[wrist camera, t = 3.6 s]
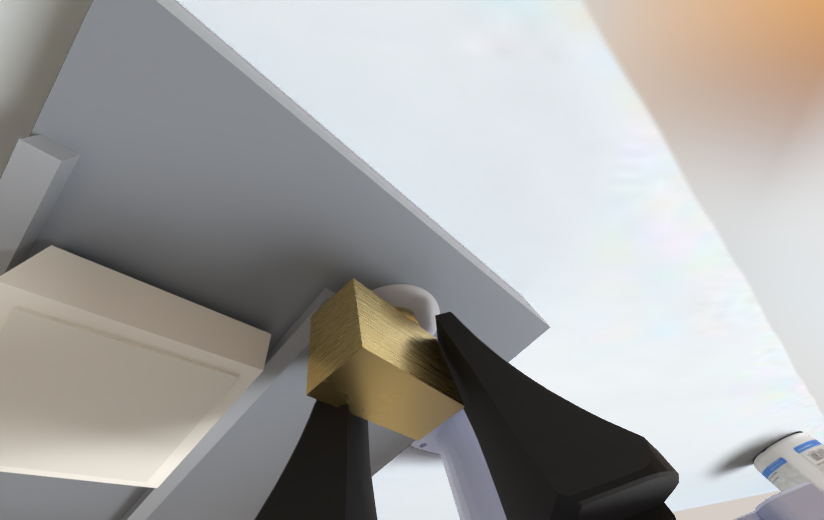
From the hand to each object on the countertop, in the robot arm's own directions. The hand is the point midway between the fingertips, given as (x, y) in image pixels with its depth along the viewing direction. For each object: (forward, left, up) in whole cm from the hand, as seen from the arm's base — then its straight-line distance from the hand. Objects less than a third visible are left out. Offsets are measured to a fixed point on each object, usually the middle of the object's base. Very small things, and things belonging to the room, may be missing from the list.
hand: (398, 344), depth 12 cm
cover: (+7, +6, -1) cm, 9 cm away
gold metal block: (+1, 0, -1) cm, 1 cm away
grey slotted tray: (+2, +8, -3) cm, 9 cm away
